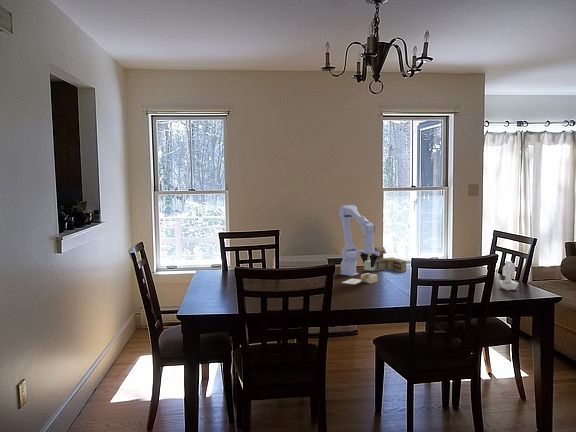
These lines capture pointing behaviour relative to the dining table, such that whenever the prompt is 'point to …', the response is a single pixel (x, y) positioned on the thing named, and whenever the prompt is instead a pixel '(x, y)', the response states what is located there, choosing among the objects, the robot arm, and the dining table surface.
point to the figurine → (508, 276)
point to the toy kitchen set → (388, 262)
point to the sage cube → (368, 265)
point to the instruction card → (352, 281)
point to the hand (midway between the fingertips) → (369, 266)
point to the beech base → (369, 278)
